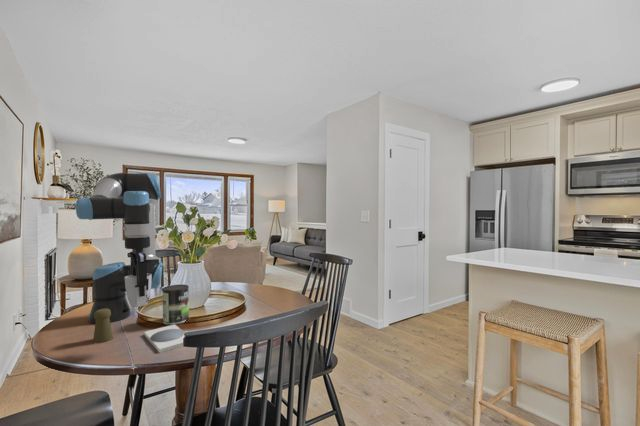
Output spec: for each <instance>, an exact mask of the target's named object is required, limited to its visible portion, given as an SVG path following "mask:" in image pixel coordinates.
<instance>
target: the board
mask: <svg viewBox="0 0 640 426" xmlns="http://www.w3.org/2000/svg"><path fill="white" fill-rule="evenodd" d="M184 333H186V332H185V331H184V329H181V327H179V326H177V324H174V325H166V326H161V327H158V328H155V329H150V330H147V331H143V334H144V337H145V338H146V340H148V341H149V342H150V344H151V345H152V346H153V347H154V348H155V350H156V351H157V352H158V353H164V352H167V351H171V350H174V349H177V348H181V347H184V346H183V338H184Z"/></svg>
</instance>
